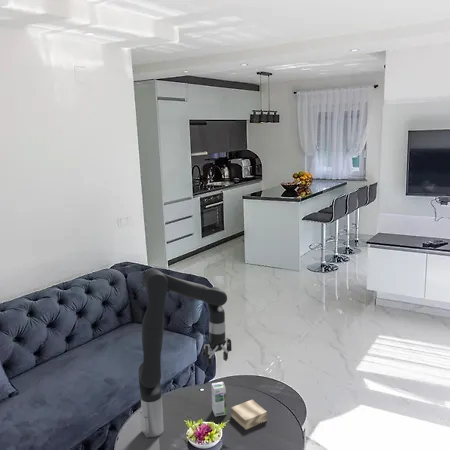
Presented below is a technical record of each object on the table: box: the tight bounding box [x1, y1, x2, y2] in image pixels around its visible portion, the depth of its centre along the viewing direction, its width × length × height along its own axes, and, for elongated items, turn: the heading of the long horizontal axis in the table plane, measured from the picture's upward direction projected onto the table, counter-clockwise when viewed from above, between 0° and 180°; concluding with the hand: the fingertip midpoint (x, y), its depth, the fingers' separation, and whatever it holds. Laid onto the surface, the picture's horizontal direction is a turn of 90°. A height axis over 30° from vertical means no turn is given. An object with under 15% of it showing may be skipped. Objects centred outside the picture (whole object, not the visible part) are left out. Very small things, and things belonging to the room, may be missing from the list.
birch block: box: [230, 399, 268, 431], centre depth 215 cm, size 12×12×5 cm
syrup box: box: [210, 381, 228, 418], centre depth 219 cm, size 6×6×14 cm
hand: (217, 362), depth 217 cm, fingers open, 8 cm apart
